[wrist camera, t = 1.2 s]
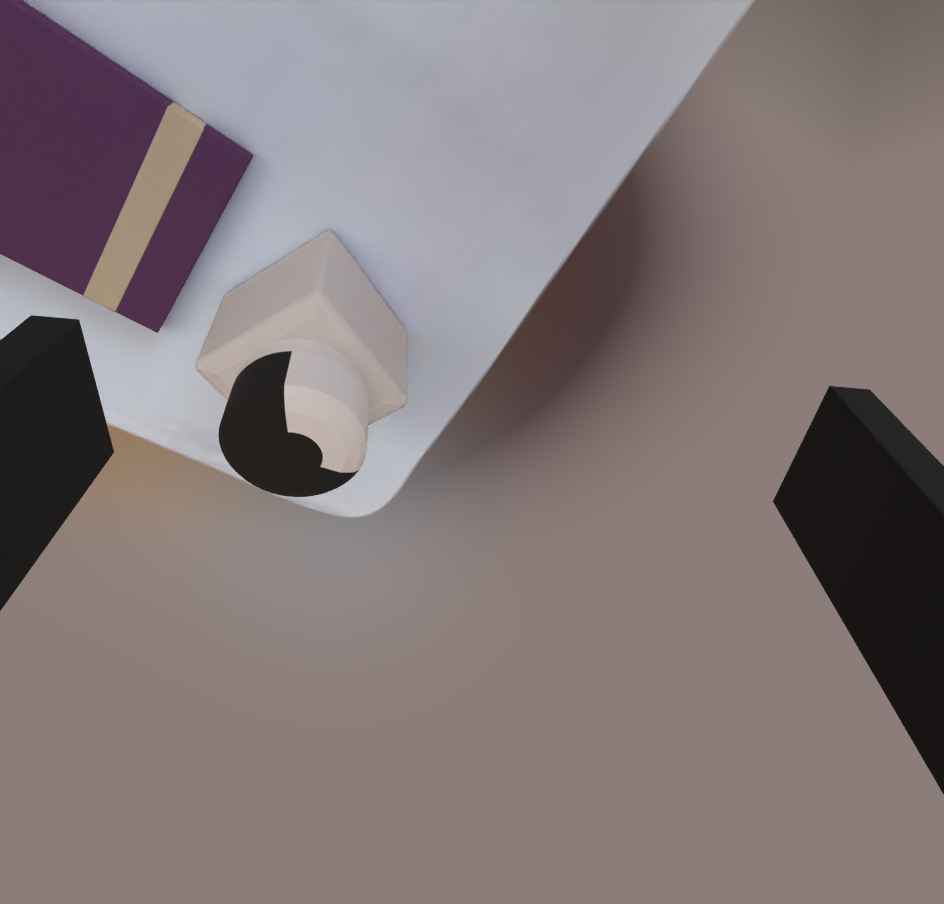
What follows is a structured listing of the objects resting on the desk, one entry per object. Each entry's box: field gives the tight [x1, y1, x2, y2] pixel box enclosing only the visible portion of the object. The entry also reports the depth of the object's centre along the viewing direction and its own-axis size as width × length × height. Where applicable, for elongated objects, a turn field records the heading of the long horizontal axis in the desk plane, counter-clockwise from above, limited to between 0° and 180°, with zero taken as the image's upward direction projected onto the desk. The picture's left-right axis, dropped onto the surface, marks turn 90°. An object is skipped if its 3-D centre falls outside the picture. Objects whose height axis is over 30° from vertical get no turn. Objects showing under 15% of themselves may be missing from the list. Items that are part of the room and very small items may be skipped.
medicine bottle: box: [196, 231, 407, 497], centre depth 32 cm, size 7×7×12 cm
